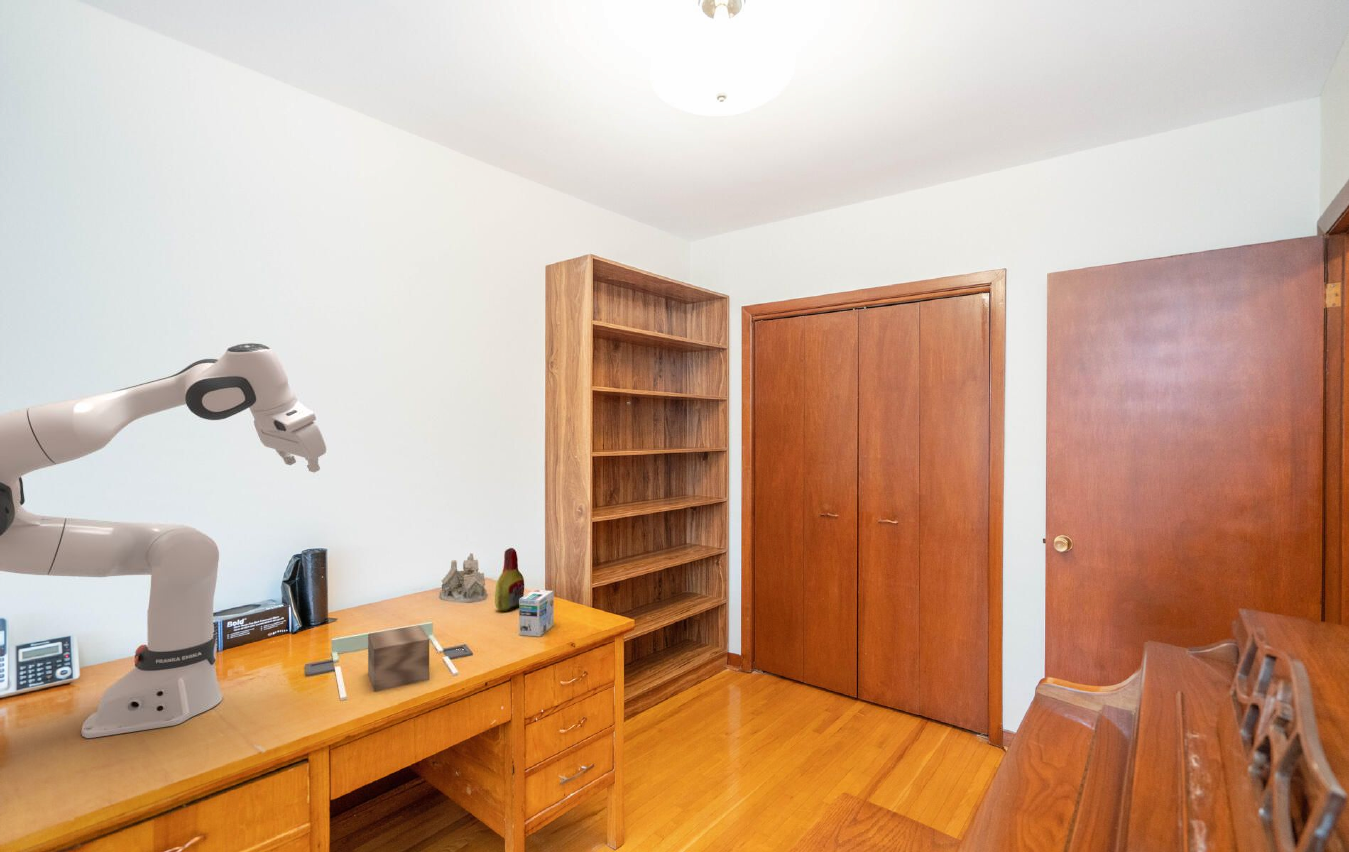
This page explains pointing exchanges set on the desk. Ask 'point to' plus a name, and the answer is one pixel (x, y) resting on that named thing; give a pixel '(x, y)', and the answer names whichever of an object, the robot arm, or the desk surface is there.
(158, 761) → the desk surface
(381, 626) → the desk surface
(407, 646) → the walnut block
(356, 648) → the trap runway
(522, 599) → the light bulb box
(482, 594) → the ceramic cottage
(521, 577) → the bottle
